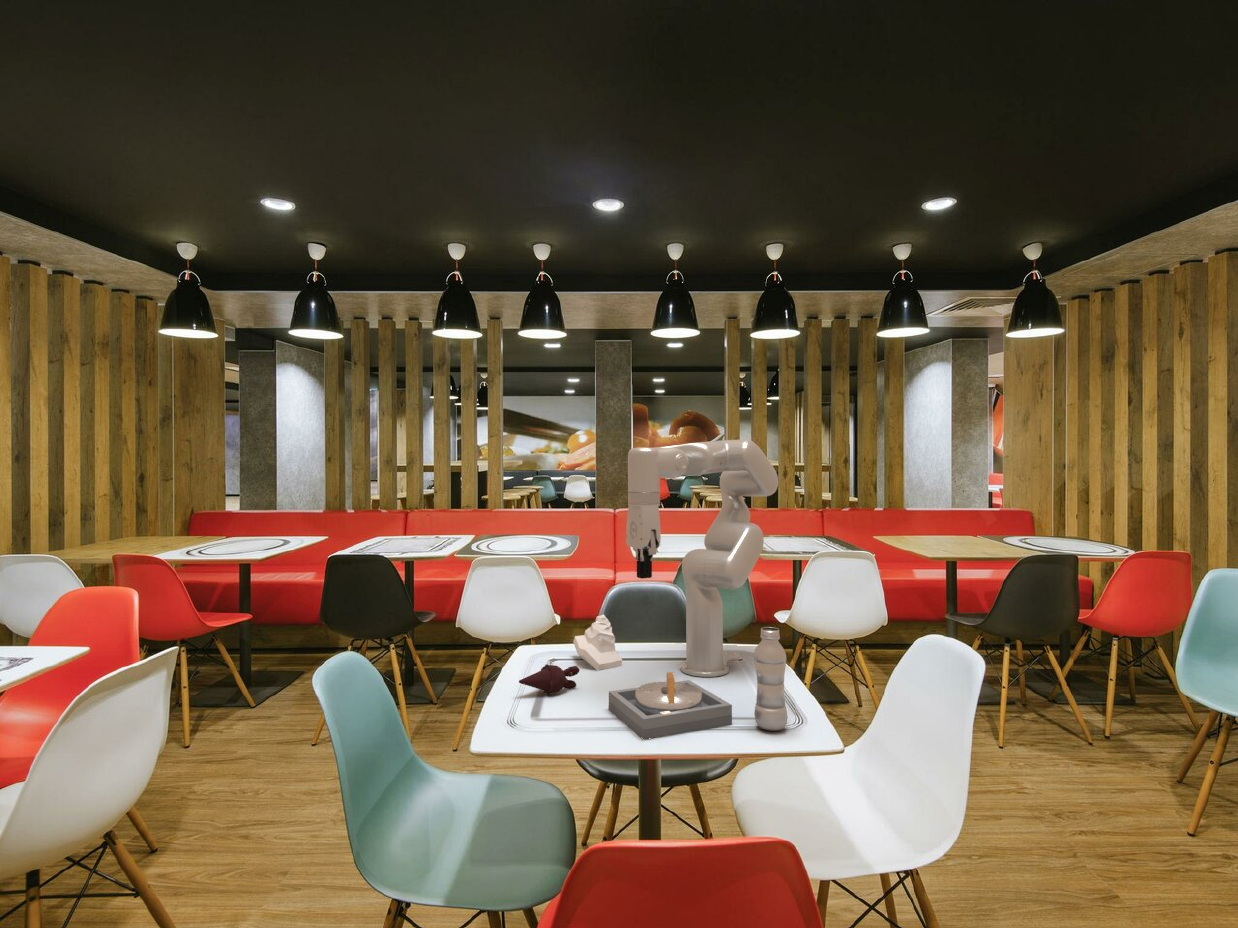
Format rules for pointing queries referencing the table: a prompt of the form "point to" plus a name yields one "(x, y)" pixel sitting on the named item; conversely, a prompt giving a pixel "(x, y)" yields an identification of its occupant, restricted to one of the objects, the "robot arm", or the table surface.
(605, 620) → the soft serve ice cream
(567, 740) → the table surface
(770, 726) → the plastic bottle
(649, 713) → the dial
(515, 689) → the table surface
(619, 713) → the tray
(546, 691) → the icecream
